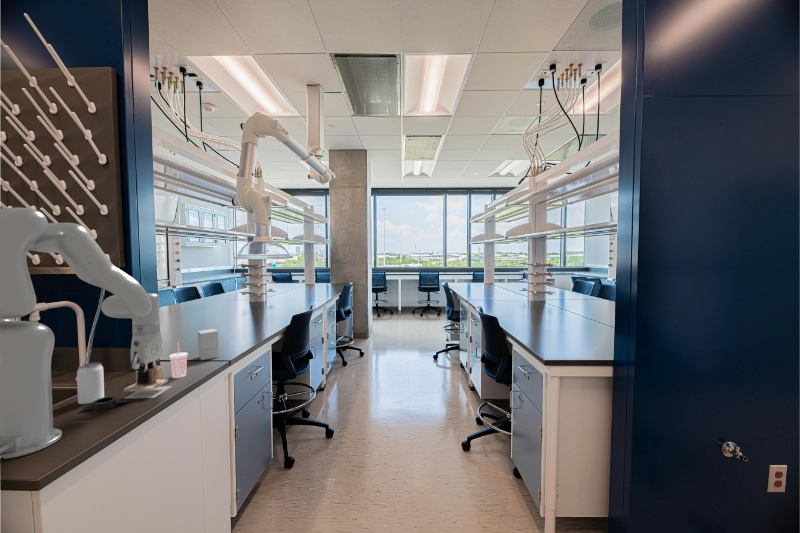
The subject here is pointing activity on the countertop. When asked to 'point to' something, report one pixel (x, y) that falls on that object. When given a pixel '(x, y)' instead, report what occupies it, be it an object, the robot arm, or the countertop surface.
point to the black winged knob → (103, 404)
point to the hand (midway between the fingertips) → (146, 381)
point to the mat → (148, 393)
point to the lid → (149, 386)
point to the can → (90, 383)
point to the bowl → (158, 372)
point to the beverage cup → (178, 364)
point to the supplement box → (208, 344)
